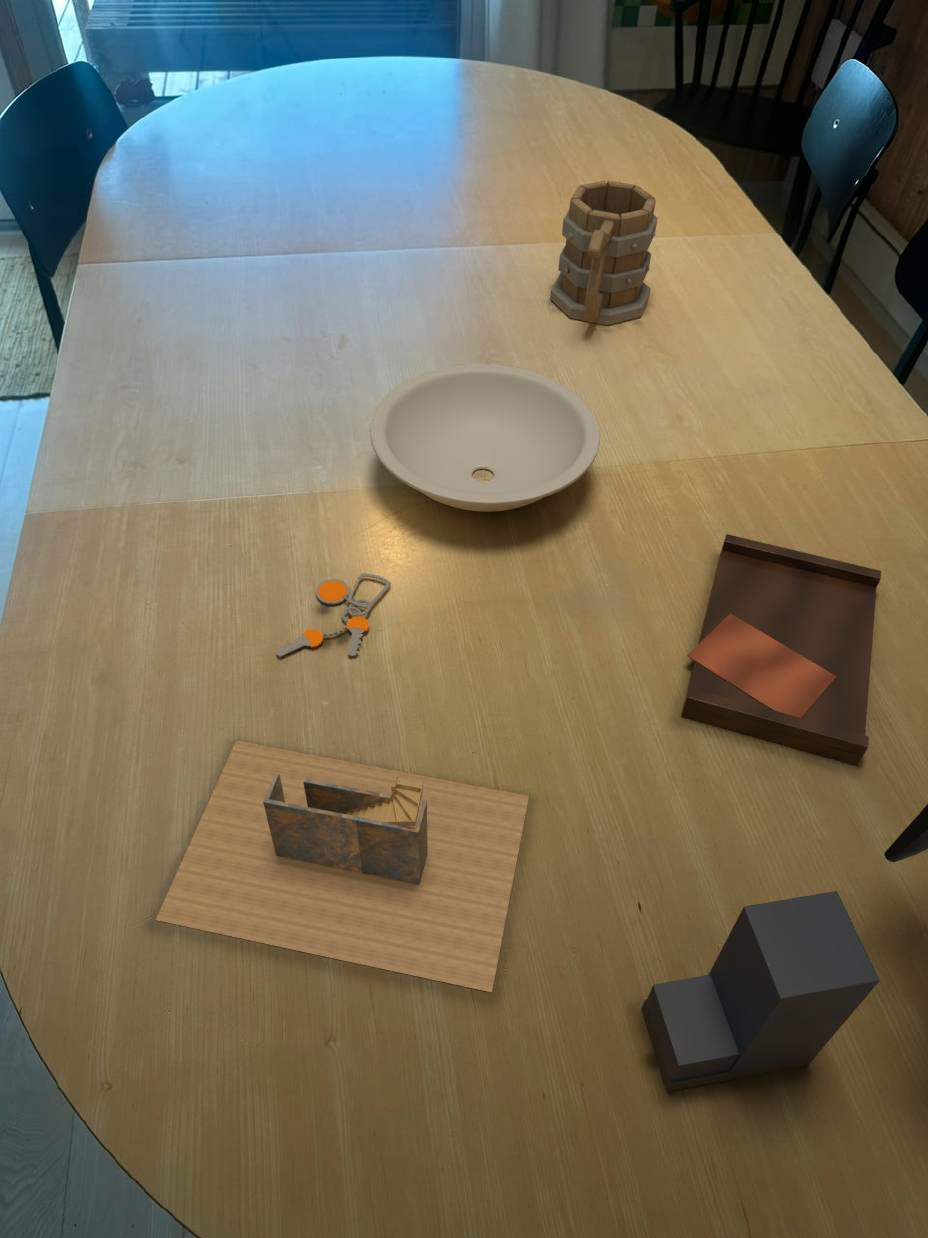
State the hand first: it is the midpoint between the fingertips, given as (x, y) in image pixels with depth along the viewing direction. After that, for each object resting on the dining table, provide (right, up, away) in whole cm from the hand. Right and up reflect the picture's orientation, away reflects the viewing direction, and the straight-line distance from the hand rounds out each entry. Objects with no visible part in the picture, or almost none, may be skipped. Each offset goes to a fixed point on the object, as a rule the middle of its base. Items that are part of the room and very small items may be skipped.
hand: (923, 927), depth 58 cm
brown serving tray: (+2, +16, +32) cm, 36 cm away
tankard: (-10, +59, +72) cm, 94 cm away
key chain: (-39, +18, +33) cm, 55 cm away
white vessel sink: (-25, +34, +48) cm, 64 cm away
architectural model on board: (-36, 0, +17) cm, 40 cm away
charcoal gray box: (-10, -10, +8) cm, 16 cm away
